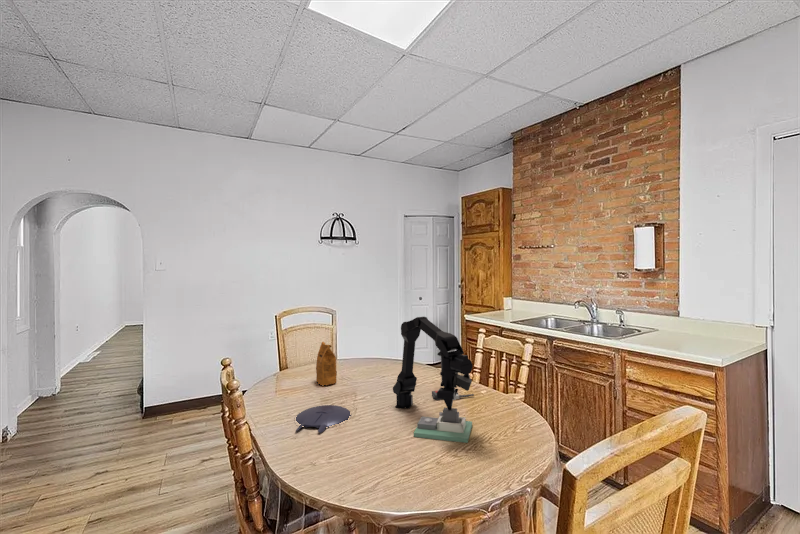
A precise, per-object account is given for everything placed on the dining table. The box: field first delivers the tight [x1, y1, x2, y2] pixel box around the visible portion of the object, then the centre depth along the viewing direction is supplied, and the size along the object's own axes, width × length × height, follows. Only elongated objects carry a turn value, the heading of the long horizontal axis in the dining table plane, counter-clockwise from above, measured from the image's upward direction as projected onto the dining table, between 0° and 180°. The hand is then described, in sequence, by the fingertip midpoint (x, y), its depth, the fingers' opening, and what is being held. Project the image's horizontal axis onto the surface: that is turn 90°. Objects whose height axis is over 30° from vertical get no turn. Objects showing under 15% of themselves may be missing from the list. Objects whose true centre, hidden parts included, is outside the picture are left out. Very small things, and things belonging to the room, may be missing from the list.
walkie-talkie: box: [431, 389, 475, 401], centre depth 182 cm, size 9×4×20 cm
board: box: [413, 415, 473, 444], centre depth 146 cm, size 20×15×4 cm
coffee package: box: [315, 341, 337, 387], centre depth 208 cm, size 10×12×22 cm
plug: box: [438, 407, 460, 423], centre depth 145 cm, size 7×3×7 cm, turn 73°
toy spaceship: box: [295, 404, 352, 434], centre depth 160 cm, size 28×24×3 cm
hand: (449, 409), depth 145 cm, fingers closed, pressing on plug
